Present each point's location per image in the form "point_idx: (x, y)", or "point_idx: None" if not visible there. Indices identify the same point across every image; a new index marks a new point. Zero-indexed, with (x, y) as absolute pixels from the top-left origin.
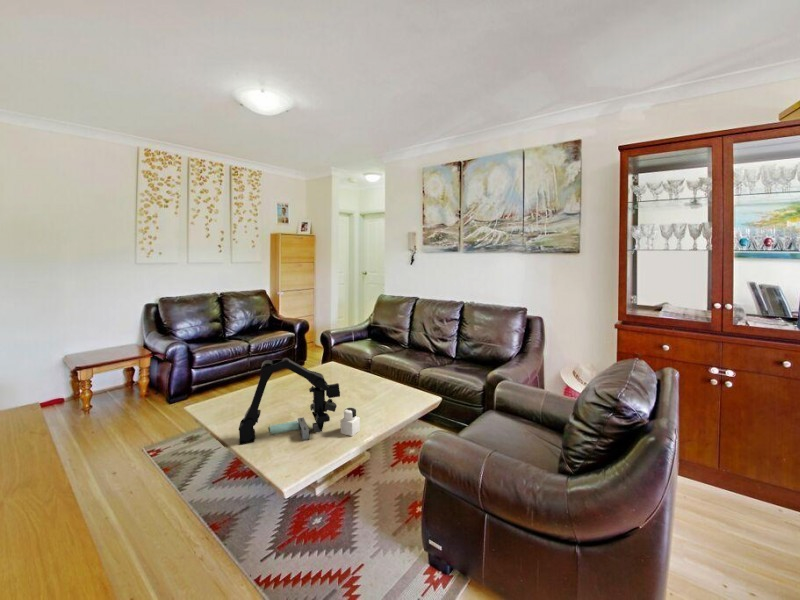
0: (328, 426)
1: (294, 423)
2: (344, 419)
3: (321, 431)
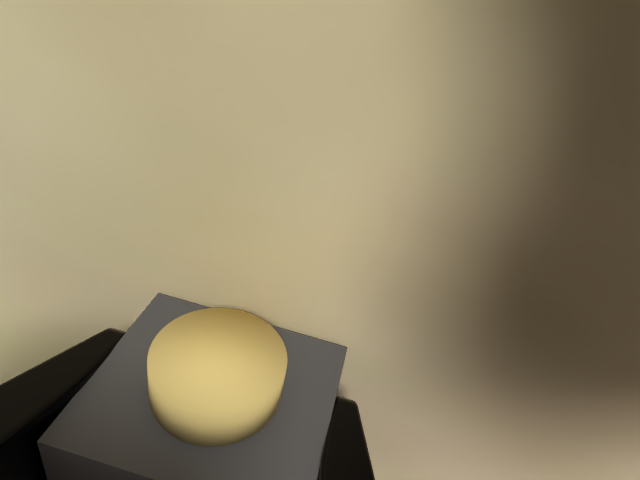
0: (134, 79)
1: None
2: None
3: (342, 365)
